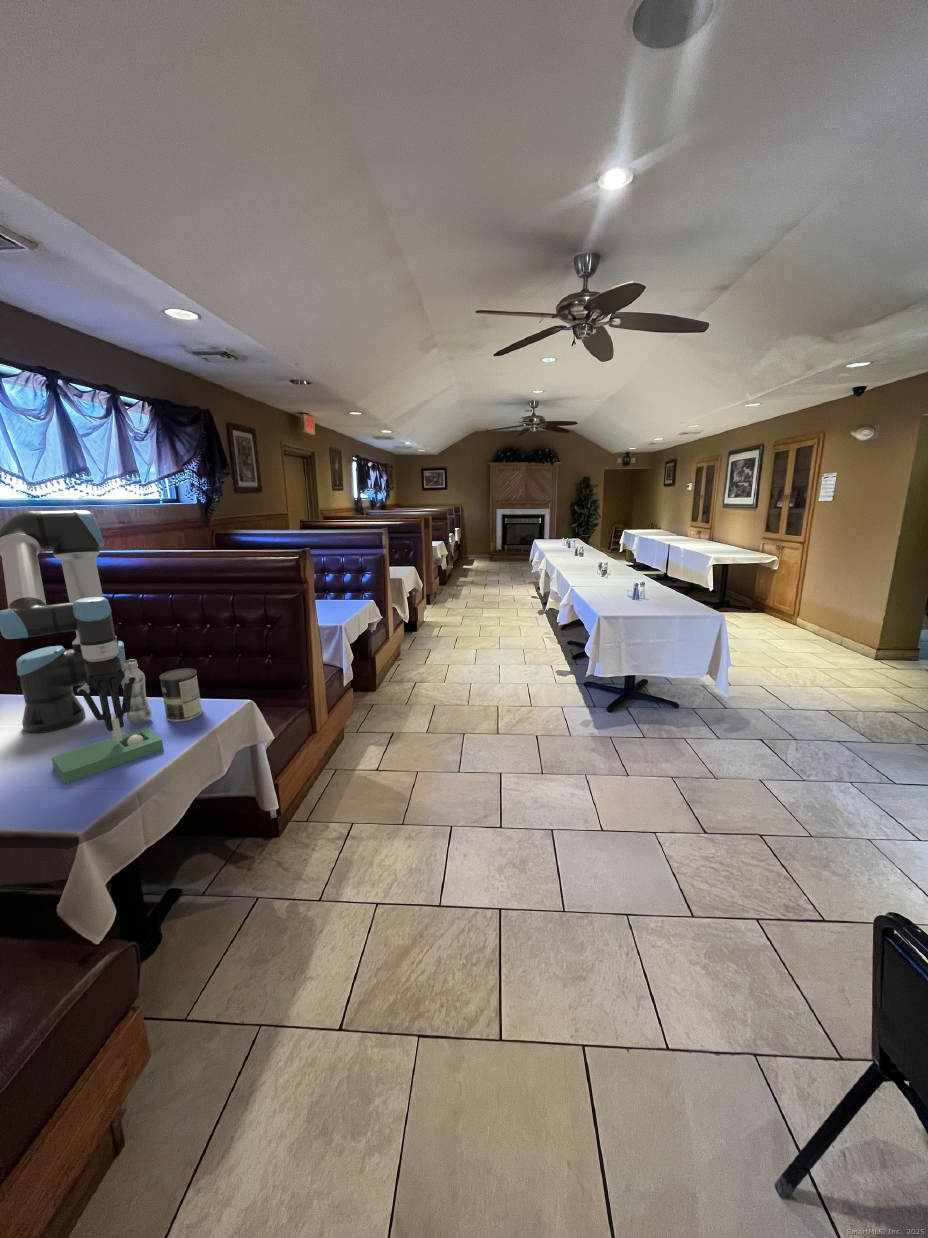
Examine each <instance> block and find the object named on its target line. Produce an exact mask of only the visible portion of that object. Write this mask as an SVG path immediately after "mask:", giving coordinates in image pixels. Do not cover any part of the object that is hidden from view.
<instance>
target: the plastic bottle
mask: <svg viewBox="0 0 928 1238" xmlns="http://www.w3.org/2000/svg"><path fill="white" fill-rule="evenodd" d="M138 666H139V665H138V661H137V659H128V660H125V661H124V662H123V669H125V670H124V673H125V675H132V676H133V677H135V678H136V680H135V682H134V684H133V686H132V695H131V705H130V711H129V712H128V713H126V719H127V721H128V722H129V724H131V725H142V724H145V723H147V722H149V721H150V720H151V718H152V709H151V707H150V705H149V702H148V698H147V691H146V676H145V673H144V672H143V671H142V670H141V669H140V668H138ZM124 684H125V682H124V679H123V680H122V682H121V684H120V685H121V686H122V689H123V691H124Z"/></svg>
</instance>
